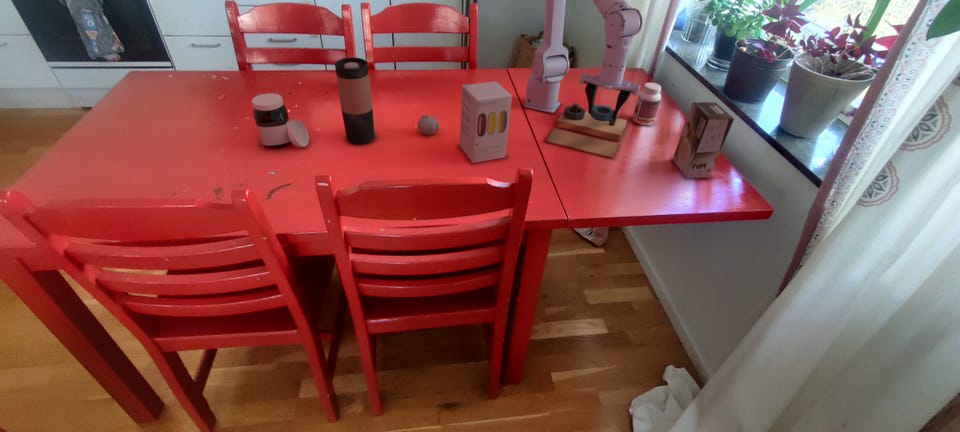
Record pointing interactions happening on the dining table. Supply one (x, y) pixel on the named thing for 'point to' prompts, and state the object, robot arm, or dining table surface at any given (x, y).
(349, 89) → the travel mug
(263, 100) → the spread jar
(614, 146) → the cork mat
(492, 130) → the supplement box
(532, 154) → the dining table surface
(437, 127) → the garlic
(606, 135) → the peg board
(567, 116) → the charcoal ring
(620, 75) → the robot arm
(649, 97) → the pill bottle
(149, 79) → the dining table surface
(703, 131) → the coffee box
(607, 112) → the teal ring
